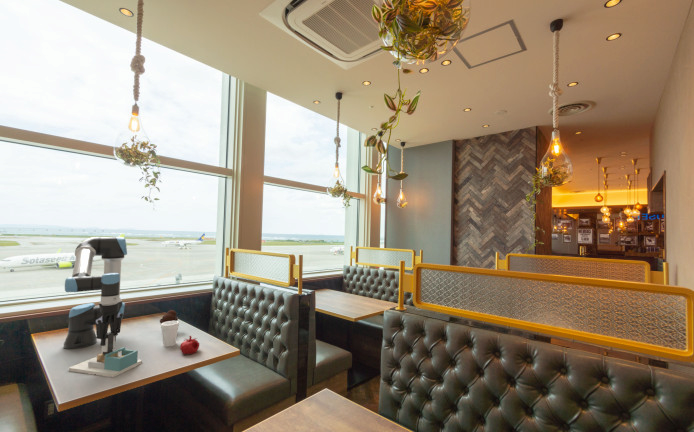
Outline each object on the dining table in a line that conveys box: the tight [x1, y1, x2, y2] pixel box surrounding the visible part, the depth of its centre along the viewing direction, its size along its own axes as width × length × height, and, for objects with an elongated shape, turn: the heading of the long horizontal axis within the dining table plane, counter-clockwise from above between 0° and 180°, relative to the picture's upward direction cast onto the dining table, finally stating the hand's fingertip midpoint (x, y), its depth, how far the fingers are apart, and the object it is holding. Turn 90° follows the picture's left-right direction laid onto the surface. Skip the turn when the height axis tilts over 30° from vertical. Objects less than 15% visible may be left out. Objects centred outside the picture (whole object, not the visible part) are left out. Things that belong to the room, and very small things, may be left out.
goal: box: [104, 346, 139, 371], centre depth 155 cm, size 9×10×7 cm
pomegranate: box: [179, 335, 200, 355], centre depth 177 cm, size 10×10×9 cm
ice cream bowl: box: [159, 309, 179, 325], centre depth 208 cm, size 11×11×15 cm
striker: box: [96, 331, 119, 363], centre depth 157 cm, size 6×6×15 cm
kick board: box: [68, 354, 143, 378], centre depth 157 cm, size 27×16×4 cm, turn 78°
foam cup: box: [160, 320, 180, 348], centre depth 188 cm, size 10×9×13 cm
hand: (108, 350), depth 157 cm, fingers closed on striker, 3 cm apart
